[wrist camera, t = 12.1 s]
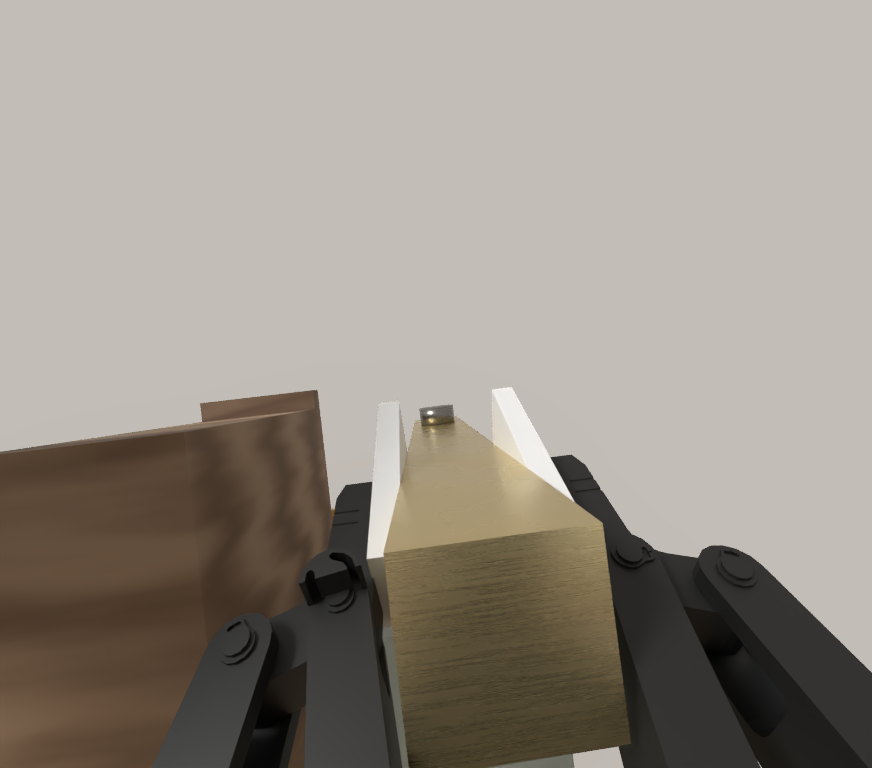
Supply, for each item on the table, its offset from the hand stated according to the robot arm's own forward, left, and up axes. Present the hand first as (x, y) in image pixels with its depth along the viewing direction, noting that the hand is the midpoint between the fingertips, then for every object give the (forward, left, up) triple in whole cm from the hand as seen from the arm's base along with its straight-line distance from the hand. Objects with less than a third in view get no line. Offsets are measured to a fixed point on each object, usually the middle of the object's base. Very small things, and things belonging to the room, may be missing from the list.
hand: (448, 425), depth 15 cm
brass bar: (-3, +3, -4) cm, 6 cm away
